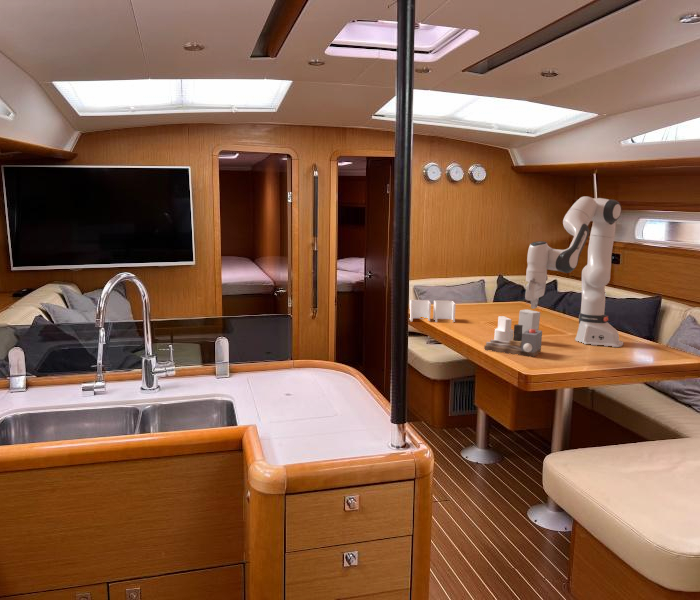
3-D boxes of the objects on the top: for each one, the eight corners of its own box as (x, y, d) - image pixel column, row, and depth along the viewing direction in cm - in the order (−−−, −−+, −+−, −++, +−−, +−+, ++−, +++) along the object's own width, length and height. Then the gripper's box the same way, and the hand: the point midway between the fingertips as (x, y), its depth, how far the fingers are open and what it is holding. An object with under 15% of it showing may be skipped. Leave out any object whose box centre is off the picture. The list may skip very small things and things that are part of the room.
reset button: (535, 336, 285) (536, 329, 285) (534, 337, 283) (534, 330, 282) (529, 335, 286) (530, 328, 286) (528, 336, 284) (528, 329, 284)
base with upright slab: (515, 343, 306) (517, 319, 304) (498, 343, 304) (500, 319, 302) (507, 339, 315) (509, 316, 313) (491, 339, 313) (492, 316, 311)
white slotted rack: (451, 319, 366) (452, 300, 364) (454, 323, 355) (455, 303, 353) (409, 318, 366) (409, 299, 365) (410, 321, 355) (411, 302, 354)
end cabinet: (540, 351, 289) (542, 330, 288) (533, 357, 279) (535, 335, 277) (527, 350, 292) (529, 329, 291) (520, 355, 282) (521, 333, 280)
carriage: (524, 343, 291) (526, 324, 289) (520, 346, 284) (521, 327, 282) (514, 342, 293) (515, 323, 292) (509, 345, 286) (510, 326, 285)
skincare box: (516, 341, 311) (518, 310, 309) (524, 339, 316) (526, 309, 313) (530, 344, 305) (533, 312, 303) (538, 342, 309) (540, 311, 307)
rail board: (540, 351, 289) (541, 345, 289) (533, 357, 279) (534, 350, 279) (492, 345, 301) (492, 338, 300) (484, 349, 291) (484, 343, 290)
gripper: (537, 280, 270) (535, 312, 272) (548, 276, 287) (546, 305, 289) (522, 279, 273) (520, 310, 275) (534, 275, 290) (532, 304, 293)
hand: (533, 308), depth 283 cm, fingers closed
